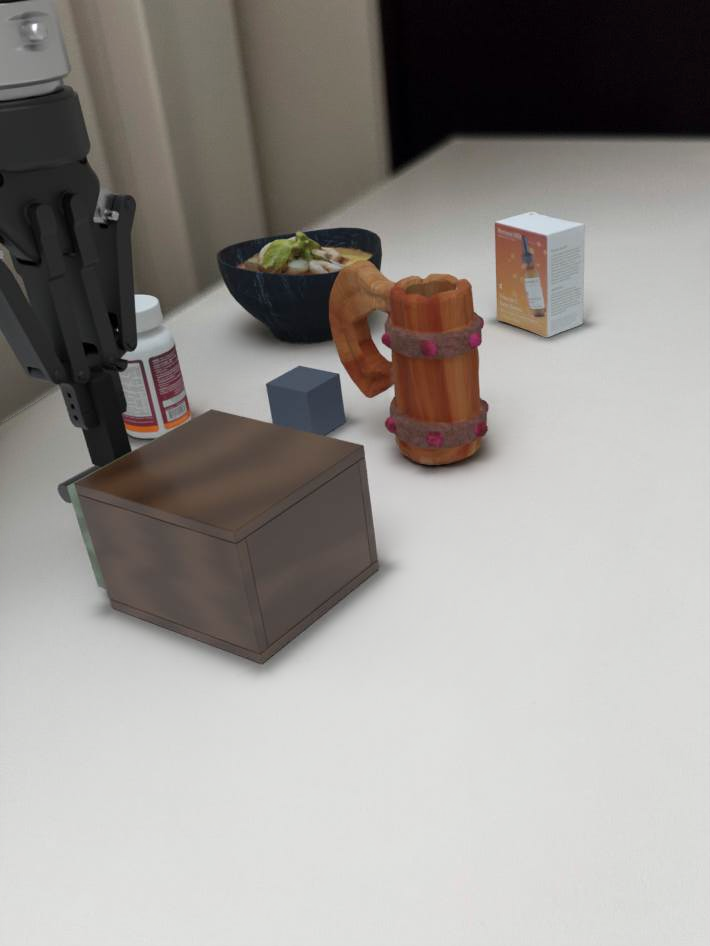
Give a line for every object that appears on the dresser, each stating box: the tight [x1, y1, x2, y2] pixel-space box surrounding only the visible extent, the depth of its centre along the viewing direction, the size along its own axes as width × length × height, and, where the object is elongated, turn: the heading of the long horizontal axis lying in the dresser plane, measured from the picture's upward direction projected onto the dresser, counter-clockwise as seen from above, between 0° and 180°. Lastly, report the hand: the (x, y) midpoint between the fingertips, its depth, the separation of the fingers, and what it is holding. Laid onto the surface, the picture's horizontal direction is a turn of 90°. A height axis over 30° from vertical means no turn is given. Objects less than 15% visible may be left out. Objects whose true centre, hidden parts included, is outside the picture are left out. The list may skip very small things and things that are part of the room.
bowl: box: [216, 227, 383, 344], centre depth 112 cm, size 17×17×10 cm
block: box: [265, 365, 347, 436], centre depth 93 cm, size 5×5×5 cm
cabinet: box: [74, 408, 380, 664], centre depth 71 cm, size 14×13×10 cm
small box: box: [494, 211, 586, 339], centre depth 111 cm, size 8×6×10 cm
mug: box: [329, 260, 490, 466], centre depth 86 cm, size 15×8×15 cm, turn 56°
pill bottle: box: [117, 294, 192, 439], centre depth 93 cm, size 6×6×11 cm
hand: (113, 463), depth 74 cm, fingers closed
